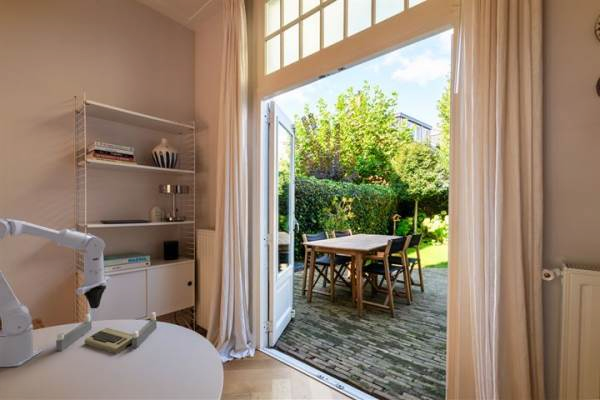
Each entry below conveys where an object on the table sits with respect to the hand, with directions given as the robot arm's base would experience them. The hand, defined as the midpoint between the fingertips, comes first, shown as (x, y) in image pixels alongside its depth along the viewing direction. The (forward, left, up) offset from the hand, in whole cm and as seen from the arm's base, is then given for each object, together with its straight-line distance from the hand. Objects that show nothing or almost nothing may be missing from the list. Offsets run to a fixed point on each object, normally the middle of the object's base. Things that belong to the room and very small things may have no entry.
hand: (94, 307), depth 101 cm
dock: (+7, -3, -10) cm, 12 cm away
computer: (+9, -6, -11) cm, 15 cm away
